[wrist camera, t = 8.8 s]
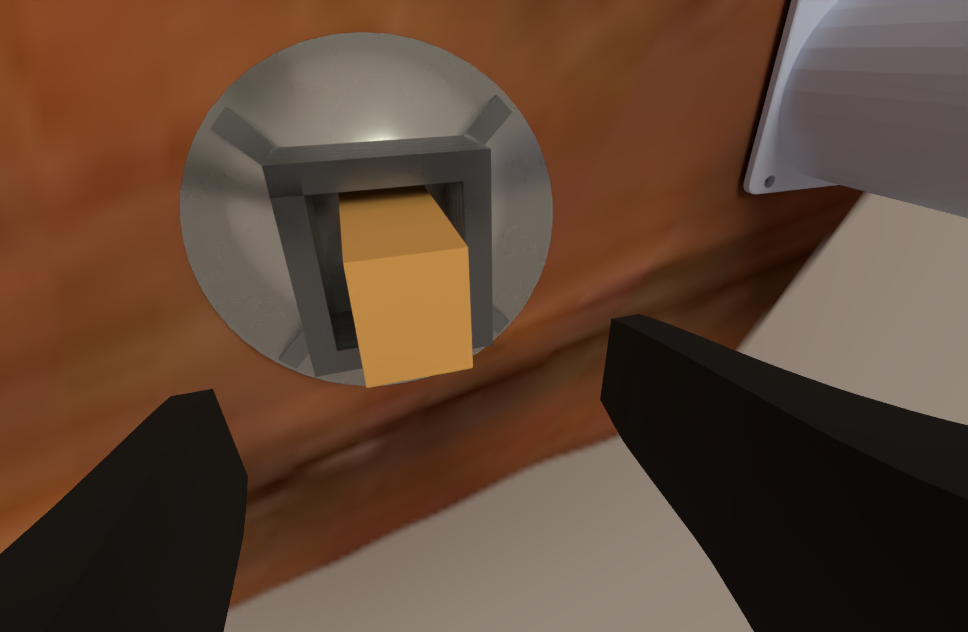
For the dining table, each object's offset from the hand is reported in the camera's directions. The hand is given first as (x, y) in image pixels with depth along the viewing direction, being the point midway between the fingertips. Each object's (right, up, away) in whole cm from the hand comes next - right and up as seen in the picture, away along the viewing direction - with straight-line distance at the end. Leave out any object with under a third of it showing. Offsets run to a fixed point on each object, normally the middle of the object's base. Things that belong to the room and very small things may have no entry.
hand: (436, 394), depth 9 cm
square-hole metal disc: (-3, +4, +8) cm, 9 cm away
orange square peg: (-2, +4, +7) cm, 8 cm away
